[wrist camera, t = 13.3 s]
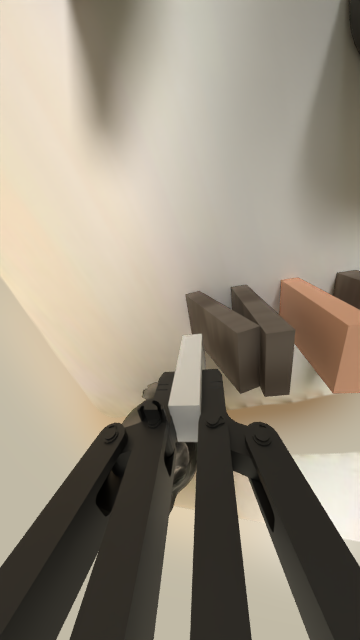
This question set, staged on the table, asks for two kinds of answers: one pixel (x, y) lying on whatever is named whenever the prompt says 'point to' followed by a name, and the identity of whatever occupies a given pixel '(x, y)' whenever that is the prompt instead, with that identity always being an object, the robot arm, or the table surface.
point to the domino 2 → (268, 340)
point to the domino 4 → (348, 287)
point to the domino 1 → (227, 339)
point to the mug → (355, 21)
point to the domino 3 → (324, 333)
